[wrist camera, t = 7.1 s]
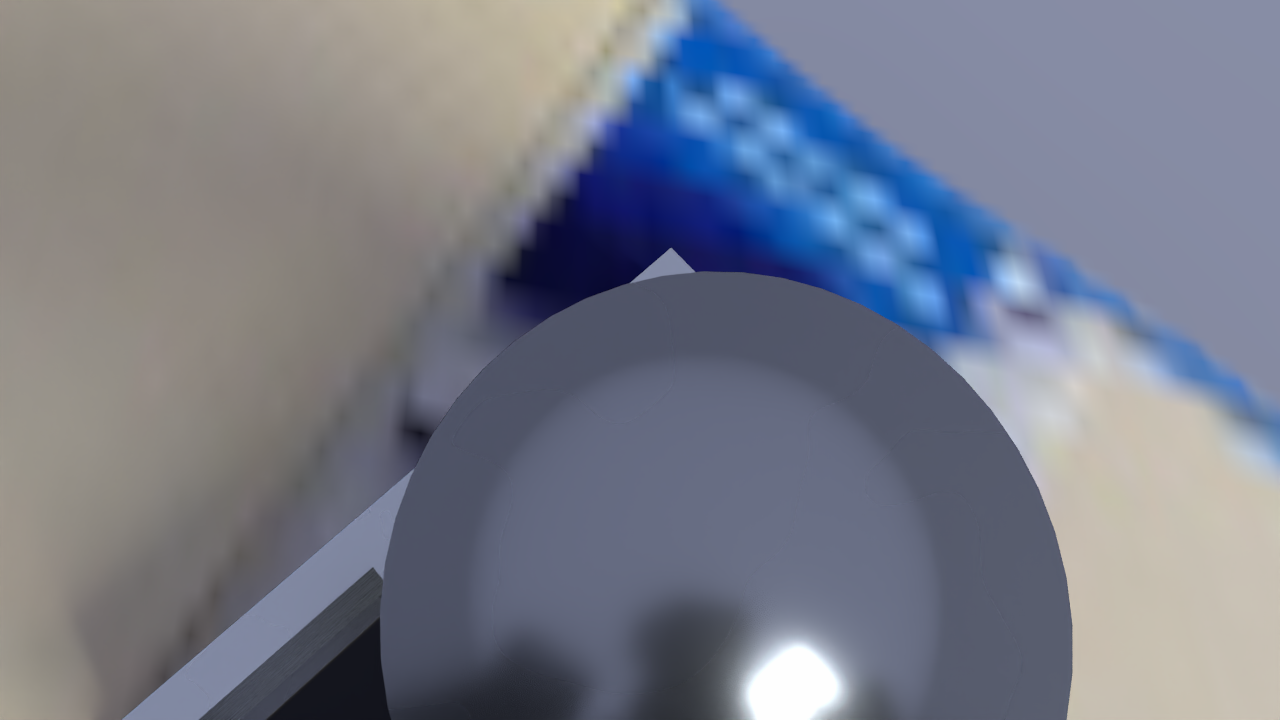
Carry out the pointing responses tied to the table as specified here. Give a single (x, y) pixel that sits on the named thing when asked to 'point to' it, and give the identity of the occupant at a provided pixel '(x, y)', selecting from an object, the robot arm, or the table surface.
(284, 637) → the gray divided tray
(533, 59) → the table surface
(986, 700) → the shiny gray cylinder
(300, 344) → the table surface
